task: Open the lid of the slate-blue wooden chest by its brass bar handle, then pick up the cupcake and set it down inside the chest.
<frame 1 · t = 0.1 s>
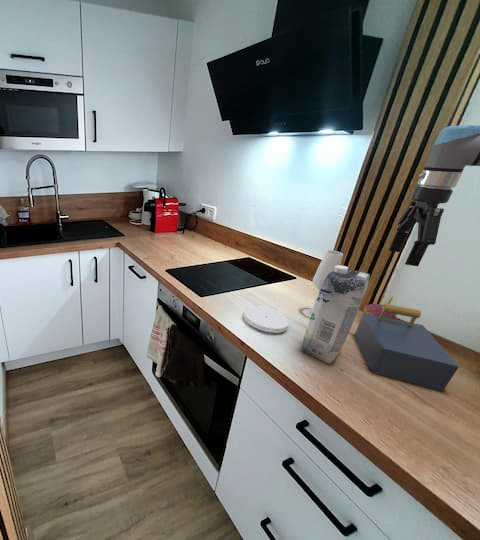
hand: (402, 257, 88), 25 cm above the worktop, tool pointing down, fingers open, 13 cm apart
juice carton: (318, 352, 85), on the worktop
lid: (407, 329, 79), point 10 cm above the worktop, hinge at 0.0°
cupcake: (374, 324, 99), on the worktop
chest: (392, 359, 82), on the worktop
plastic lid: (264, 323, 98), on the worktop
champagne flute: (312, 314, 104), on the worktop
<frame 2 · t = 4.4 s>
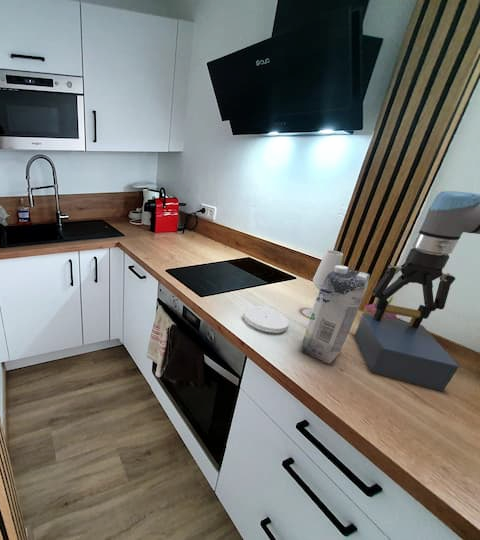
hand: (395, 322, 85), 8 cm above the worktop, tool pointing down, fingers closed on lid, 8 cm apart
lid: (407, 329, 79), point 10 cm above the worktop, hinge at -0.2°, touching gripper
everything else where it was.
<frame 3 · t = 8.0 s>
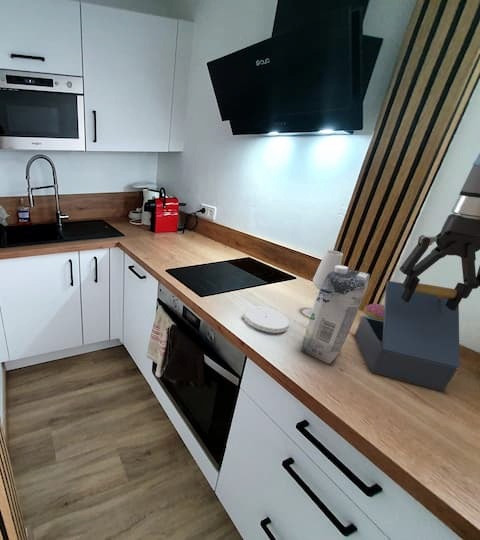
hand: (426, 303, 73), 20 cm above the worktop, tool pointing down, fingers closed on lid, 8 cm apart
lid: (426, 319, 72), point 17 cm above the worktop, hinge at 46.6°, touching gripper
everything else where it was.
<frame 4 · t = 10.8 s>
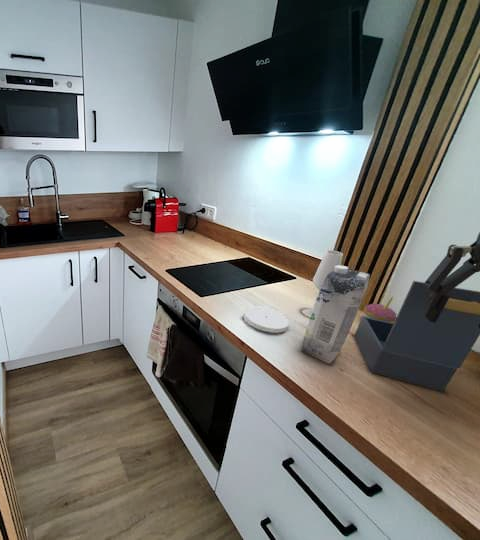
hand: (456, 324, 62), 21 cm above the worktop, tool pointing down, fingers closed on lid, 8 cm apart
lid: (442, 330, 66), point 18 cm above the worktop, hinge at 87.5°, touching gripper
everything else where it was.
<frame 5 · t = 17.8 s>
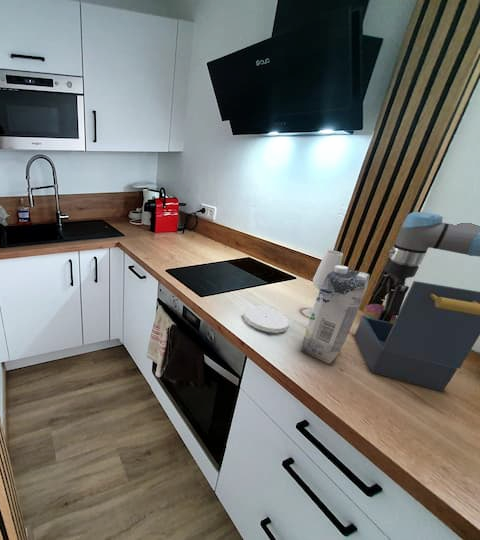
hand: (375, 321, 99), 1 cm above the worktop, tool pointing down, fingers closed on cupcake, 9 cm apart
lid: (442, 330, 66), point 18 cm above the worktop, hinge at 87.7°
cupcake: (374, 324, 99), on the worktop, touching gripper
everything else where it was.
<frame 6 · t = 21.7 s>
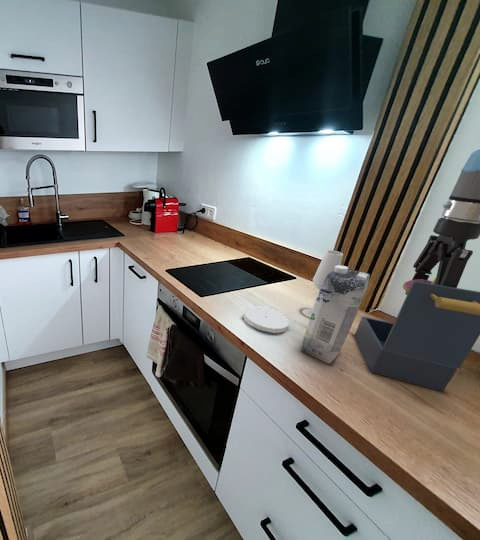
hand: (418, 302, 76), 18 cm above the worktop, tool pointing down, fingers closed on cupcake, 9 cm apart
cupcake: (417, 305, 77), point 17 cm above the worktop, touching gripper
everything else where it was.
when the fingers open (2 cm above the worktop, at t = 25.9 s): cupcake stays where it is, resting on chest.
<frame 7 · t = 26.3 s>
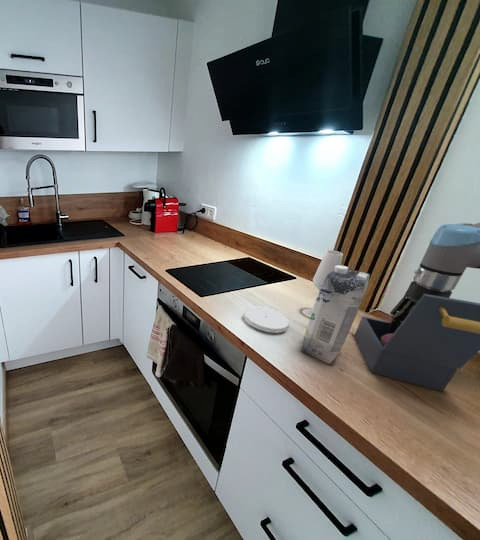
hand: (397, 352, 81), 3 cm above the worktop, tool pointing down, fingers open, 12 cm apart
lid: (446, 341, 64), point 16 cm above the worktop, hinge at 105.4°
cupcake: (393, 358, 82), point 1 cm above the worktop, touching chest
everything else where it was.
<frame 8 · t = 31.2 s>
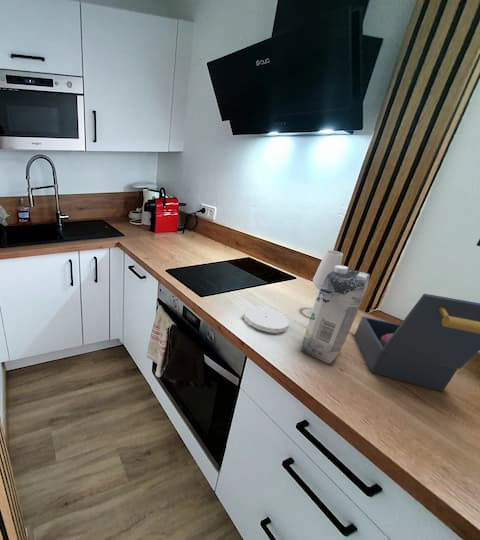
nothing on the worktop moved.
at the end: lid at +105° (first picture: +0°); cupcake inside the target area in the chest (0.1 cm from its centre), point 0.6 cm above the chest's base; cupcake tilted 0° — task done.
